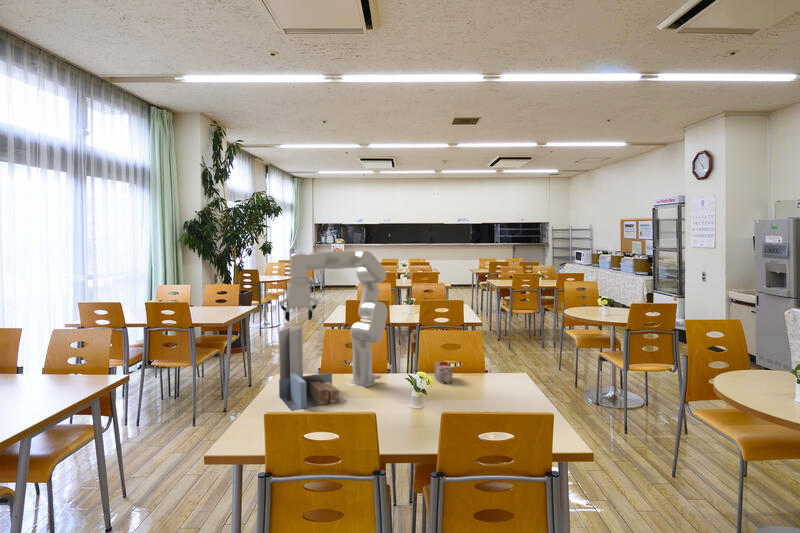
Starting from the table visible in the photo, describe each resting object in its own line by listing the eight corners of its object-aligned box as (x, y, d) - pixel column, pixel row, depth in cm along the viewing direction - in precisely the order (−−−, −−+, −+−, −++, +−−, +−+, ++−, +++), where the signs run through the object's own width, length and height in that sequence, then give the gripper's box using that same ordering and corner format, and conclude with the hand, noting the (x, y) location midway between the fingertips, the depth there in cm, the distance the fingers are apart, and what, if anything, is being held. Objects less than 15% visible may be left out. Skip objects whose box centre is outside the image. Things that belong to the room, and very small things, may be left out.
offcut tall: (318, 394, 220) (318, 381, 220) (328, 403, 208) (328, 389, 208) (310, 395, 218) (310, 382, 218) (319, 404, 206) (319, 390, 206)
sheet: (296, 397, 216) (295, 373, 216) (306, 407, 202) (306, 382, 202) (290, 397, 215) (290, 373, 215) (300, 408, 201) (300, 382, 201)
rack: (331, 390, 229) (331, 372, 228) (347, 403, 210) (347, 383, 210) (279, 398, 217) (278, 379, 217) (291, 413, 198) (291, 391, 198)
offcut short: (328, 392, 223) (328, 382, 222) (339, 401, 210) (339, 390, 210) (320, 393, 221) (320, 383, 221) (330, 402, 208) (330, 391, 208)
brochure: (291, 395, 222) (290, 331, 221) (280, 394, 223) (278, 331, 222) (303, 386, 236) (302, 326, 235) (292, 385, 237) (291, 326, 236)
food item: (454, 383, 240) (454, 364, 239) (439, 384, 238) (439, 365, 238) (446, 376, 253) (446, 358, 253) (431, 377, 252) (431, 358, 251)
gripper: (316, 280, 216) (316, 318, 216) (277, 281, 209) (277, 320, 209) (320, 281, 209) (320, 320, 209) (280, 282, 202) (280, 322, 202)
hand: (298, 320), depth 209 cm, fingers open, 9 cm apart
